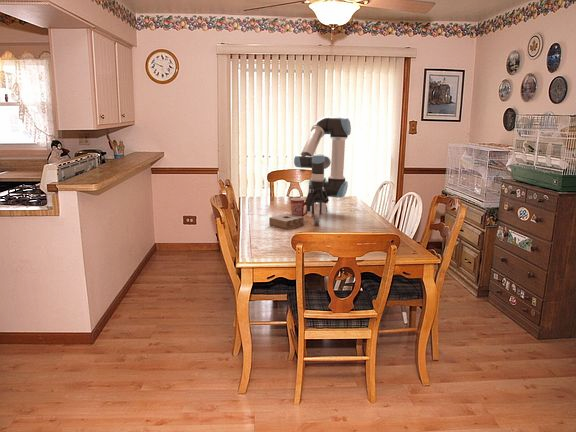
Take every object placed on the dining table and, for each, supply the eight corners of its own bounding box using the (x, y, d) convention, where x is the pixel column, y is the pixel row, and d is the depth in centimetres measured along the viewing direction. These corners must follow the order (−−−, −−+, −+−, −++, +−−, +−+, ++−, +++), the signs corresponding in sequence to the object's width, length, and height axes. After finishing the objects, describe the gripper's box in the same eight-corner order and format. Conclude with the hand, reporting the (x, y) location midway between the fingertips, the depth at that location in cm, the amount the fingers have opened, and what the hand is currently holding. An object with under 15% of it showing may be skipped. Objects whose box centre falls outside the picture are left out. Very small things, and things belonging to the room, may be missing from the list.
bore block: (287, 221, 302) (287, 213, 301) (303, 225, 292) (303, 217, 291) (269, 225, 290) (269, 217, 289) (286, 229, 281) (286, 221, 280)
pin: (316, 224, 294) (316, 202, 291) (320, 225, 292) (320, 203, 289) (312, 225, 292) (313, 203, 289) (316, 226, 290) (317, 203, 287)
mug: (288, 220, 303) (289, 199, 300) (292, 217, 312) (292, 197, 309) (308, 221, 300) (308, 201, 297) (310, 218, 309) (311, 198, 306)
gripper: (325, 177, 297) (324, 211, 302) (299, 181, 279) (298, 216, 284) (335, 179, 292) (333, 212, 297) (308, 183, 274) (308, 218, 279)
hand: (316, 214), depth 290 cm, fingers open, 13 cm apart
